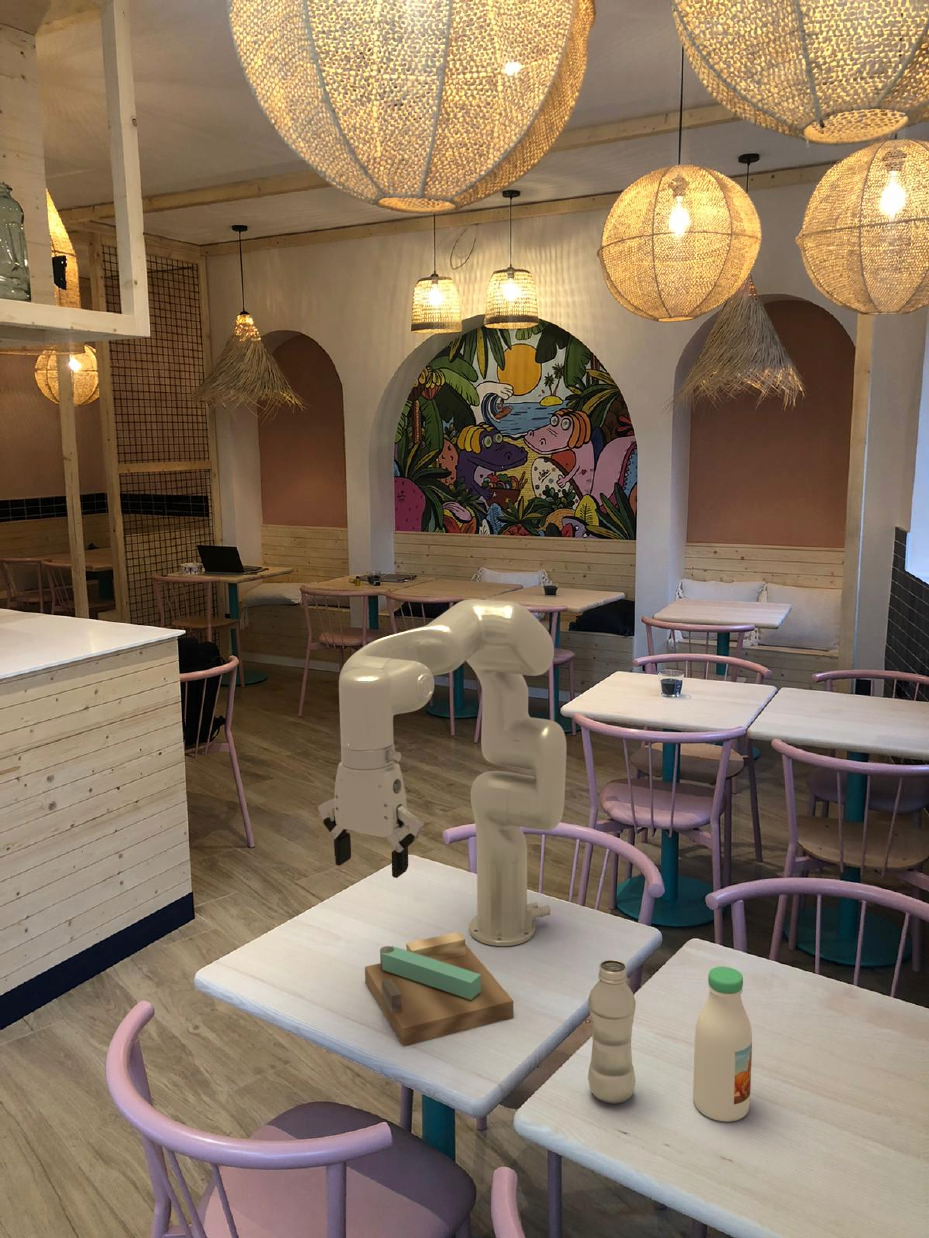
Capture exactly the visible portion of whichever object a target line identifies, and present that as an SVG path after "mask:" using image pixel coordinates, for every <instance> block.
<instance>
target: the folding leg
mask: <svg viewBox="0 0 929 1238" xmlns="http://www.w3.org/2000/svg"><path fill="white" fill-rule="evenodd" d="M379 955H380V958H379V960H380V963H381V968H382V970H385V971H388V972H391V973H394V974H396V975H399V976H402V977H405V978H408V979H411V980H414V981H417V982H420V983H423V984H426V985H429V986H432V987H435V988H438V989H441V990H443V991H446V992H449V993H452V994H455V995H458V996H461V997H464V998H467V999H470V1000H472V999H473V998H474V997H475V996H476V995H477V994H478V993H480V992H481V974H478V973H475V972H472V971H469V970H465V969H462V968H459V967H456V966H453V965H450V964H447V963H444V962H441V961H437V960H434V959H431V958H428V957H425V956H422V955H419V954H416V953H413V952H410V951H406V949H402V948H401V947H398V946H397V947H396V946H393V945H392V946H391V945H385V946H382V947H381V948H380V949H379Z"/></svg>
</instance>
